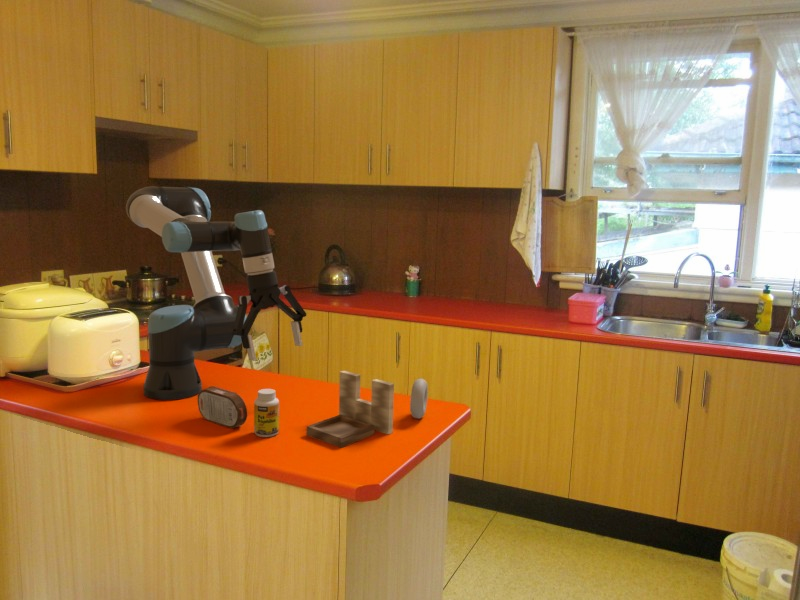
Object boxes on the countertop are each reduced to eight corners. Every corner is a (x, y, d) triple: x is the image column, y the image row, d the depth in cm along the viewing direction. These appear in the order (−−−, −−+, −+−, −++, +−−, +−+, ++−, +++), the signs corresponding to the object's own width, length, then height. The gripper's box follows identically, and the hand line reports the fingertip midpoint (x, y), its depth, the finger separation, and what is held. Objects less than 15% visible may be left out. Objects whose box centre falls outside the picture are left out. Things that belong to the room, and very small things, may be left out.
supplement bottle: (253, 438, 148) (253, 395, 146) (254, 429, 153) (254, 387, 152) (279, 437, 149) (279, 394, 147) (279, 429, 154) (278, 387, 153)
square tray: (306, 435, 151) (306, 426, 151) (339, 423, 159) (340, 414, 159) (341, 447, 144) (341, 438, 144) (374, 434, 153) (374, 425, 152)
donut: (422, 424, 160) (423, 385, 158) (408, 423, 160) (409, 384, 159) (428, 411, 170) (429, 374, 168) (414, 410, 170) (416, 373, 169)
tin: (248, 429, 154) (248, 394, 153) (238, 432, 152) (237, 397, 150) (205, 415, 162) (205, 382, 161) (195, 419, 160) (194, 385, 158)
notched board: (339, 418, 163) (339, 371, 161) (343, 417, 164) (343, 370, 162) (388, 434, 153) (389, 384, 151) (392, 432, 154) (393, 383, 152)
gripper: (220, 282, 155) (238, 368, 159) (309, 262, 170) (324, 340, 174) (208, 282, 161) (225, 364, 165) (295, 262, 176) (309, 338, 180)
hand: (276, 352), depth 169 cm, fingers open, 13 cm apart
